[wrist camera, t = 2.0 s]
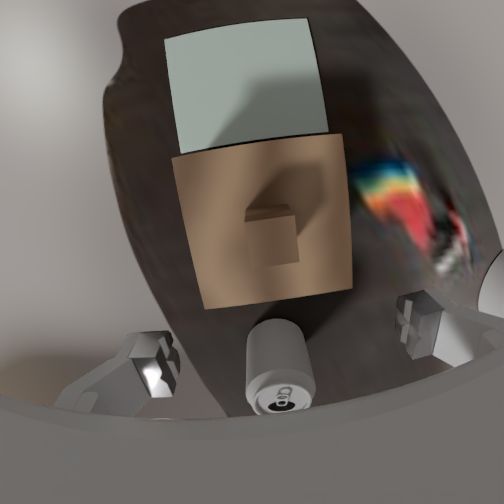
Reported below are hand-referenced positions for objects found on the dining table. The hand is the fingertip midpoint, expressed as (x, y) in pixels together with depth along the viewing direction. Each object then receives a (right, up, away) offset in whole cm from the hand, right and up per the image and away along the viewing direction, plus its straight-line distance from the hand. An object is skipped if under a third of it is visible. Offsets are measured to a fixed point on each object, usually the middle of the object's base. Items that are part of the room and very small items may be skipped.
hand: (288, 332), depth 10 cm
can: (+2, -9, +29) cm, 30 cm away
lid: (0, +5, +14) cm, 15 cm away
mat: (-2, +21, +18) cm, 28 cm away
